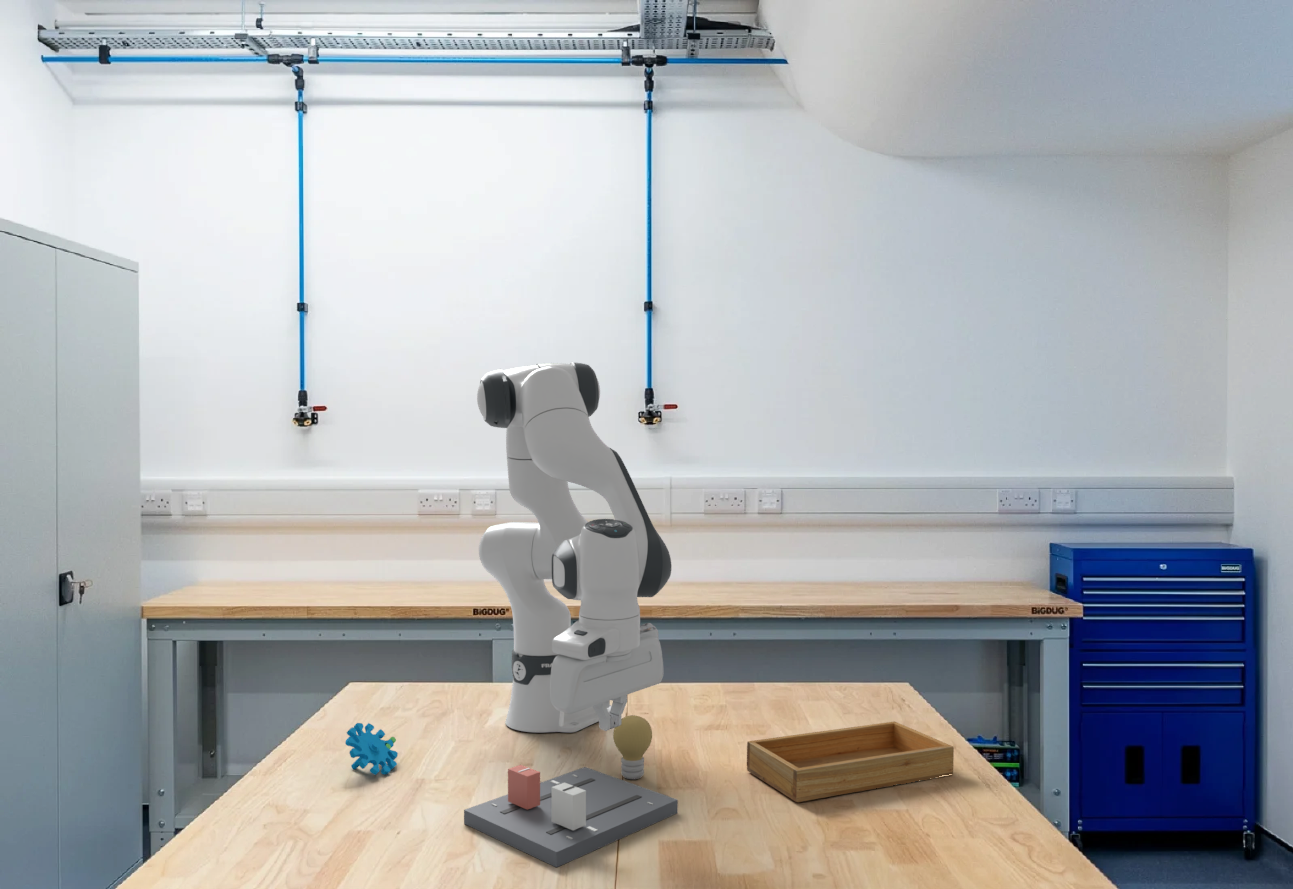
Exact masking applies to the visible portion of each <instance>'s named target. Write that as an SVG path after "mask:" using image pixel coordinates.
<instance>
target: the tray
mask: <svg viewBox="0 0 1293 889" xmlns="http://www.w3.org/2000/svg"><path fill="white" fill-rule="evenodd" d="M954 752H955V751H954V745H953V746H952V745H950V744H949V743H946V742H944V741H941V740H939V739H937V738H934V737H932V736H930V735H928V734H925V733H923V732H921V731H918V730H916V729H913V728H912V727H909V726H906V725H904V724H901V723H899V722H897V721H894V720H893V721H887V722H881V723H873V724H866V725H865V724H864V725H859V726H850V727H844V728H843V727H842V728H836V729H829V730H821V731H814V732H806V733H799V734H792V735H785V736H777V737H770V738H769V737H768V738H763V739H756V740H749V741H747V744H746V771H747V772H749V773H750V774H751V775H753V776H755V777H757V778H758V779H760V780H761V781H763V782H764V783H766V784H767V785H769V786H770V787H772V788H774V789H776V790H777V791H778V792H780V793H782V795H785V796H786V797H788V798H789V799H791V800H792V801H794V802H796V803H801V802H807V801H812V800H817V799H818V800H819V799H824V798H828V797H829V798H830V797H834V796H840V795H846V794H851V793H852V794H853V793H857V792H864V791H870V790H876V788H877V789H882V788H887V787H894V786H893V785H895V786H897V785H896V784H901V785H905V784H906V783H907V784H911V782H913V783H916V782H915V781H918V782H920V781H919V780H925V781H928V780H927V779H930V778H935V777H939V776H942V775H949V774H954V761H955V760H954V759H955V758H954V756H955V755H954Z"/></svg>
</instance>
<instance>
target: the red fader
mask: <svg viewBox="0 0 1293 889" xmlns="http://www.w3.org/2000/svg"><path fill="white" fill-rule="evenodd" d="M540 783H541V772H540V771H538V770H535V769H534V768H533V769H532V768H531V767H529V766H525V765H523V764H519V765H516V766H513V767H510V768H508V769H507V794H508V802H510V803H513V804H515V805H517V806H520V807H522V808H524V809H527V810H528V809H531V808H533V807H536V806H539V805H540Z"/></svg>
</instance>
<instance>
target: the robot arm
mask: <svg viewBox="0 0 1293 889" xmlns="http://www.w3.org/2000/svg"><path fill="white" fill-rule="evenodd" d="M477 389H478V390H477V394H476V396H477V397H476V400H477V406H478V409H479V413H480V414H481V416H482V418H483V420H484V422H486V424H487V425H489V426H490V427H492V428H497V429H498V428H500V429H506V431H505V434H506V435H505V439H506V440H505V442H506V445H505V446H506V450H505V451H506V461H507V462H506V463H507V465H506V466H507V475H508V487H509V488H508V489H509V494H510V496H512V498H513V499H514V501H515V502H516V503H517V504H518V505H520V506H523V507H524V508H525V509H527V510H528V511H530V513H532V514H533V516H534V517H535V518H536V520H537V522H535V521H534V522H533V521H531V522H530V521H529V522H528V521H527V522H525V521H523V522H522V521H510V522H509V521H508V522H504V523H497V524H495V525H490V526H489V527H488V528H487V529H486V530H485V531H484V533H483V534H482V536H481V538H480V540H479V544H478V558H479V560H480V563H481V565H482V566H483V568H484V569H485V571H486V572H487V573H489V574H490V575H491V576H492V577H493V578H494V579H495V580H496V581H497V582H498V583H499V585H500V586H501V588H502V589H503V591H504V592H505V594H506V598H507V599H508V602H509V604H510V609H511V612H512V623H513V649H512V651H511V671H512V683H511V684H512V685H511V686H512V687H511V693H510V699H509V700H510V702H509V706H508V710H507V715H506V718H505V722H504V723H505V726H507V727H509V728H510V729H512V730H516V731H521V732H527V733H576V732H578V731H581V730H583V729H585V728H587V727H589V726H591V725H593V724H595V723H598V727H599V729H600V730H602V731H605V732H607V731H610V730H612V729H614V728H615V727H618V726H620V725H621V719H622V714H623V713H624V711H625V708H626V707H627V706H626V705H627V702H628V695H630V694H633V693H636V692H639V691H641V690H644V689H647V688H651V687H653V686H654V687H655V686H656V685H659V684H661V682H662V679H663V677H664V660H663V651H662V645H661V642H660V640H659V630H658V629H657V627H656V626H655V625H654V624H652V623H651V622H646V623H643V624H641V609H640V605H639V603H638V602H639V601H638V598H653V597H655V596H656V595H657V594H659V592H660V591H661V590H662V589H663V588H664V587H665V586H666V585H667V583H668V581H669V579H670V577H671V574H672V559H671V554H670V552H669V550H668V547H667V546H666V545H667V544H666V543H665V541H664V540H663V539H662V537H661V536H660V534H659V533H658V530H656V527H655V526H654V525H653V522H652V521H651V519H650V516H649V514H648V512H647V509H646V508H645V506H644V504H643V502H642V499H641V497H640V494H639V492H638V489H637V488H636V486H635V483H634V481H633V479H632V477H631V475H630V472H629V471H628V469H627V466H626V465H625V463H624V461H623V459H622V458H621V456H620V454H619V453H618V452H617V451H616V450H614V449H613V448H611V447H609V446H608V445H607V444H606V443H604V441H603V440H602V439H601V438H600V436H599V435H598V434H597V433H596V431H595V430H594V428H593V426H592V424H591V420H590V418H589V417H591V416H592V415H594V414H595V412H596V411H597V410H598V407H599V404H600V403H599V402H600V397H601V388H600V382H599V379H598V378H597V374H596V372H595V370H594V369H593V368H592V367H591V366H590V364H586V363H582V362H573V361H571V362H570V363H558V362H557V363H554V362H553V363H552V362H551V363H545V362H543V363H536V364H534V365H533V364H532V365H524V366H518V367H512V368H508V369H504V370H503V369H502V368H499V369H495V370H491V371H488V372H486V373H485V374H484V375H483V376H482V377H481V379H480V382H479V386H478V388H477ZM569 483H571V484H572V483H573V484H576V485H579V486H582V487H585V488H587V489H589V490H591V491H593V492H595V493H597V494H599V495H600V496H601V497H603V499H605V501H606V502H607V504H608V506H609V508H610V510H611V512H612V515H613V517H614V518H599V519H593V520H590V521H588V520H587V519H586V518H585V517H584V516H583V515H582V514H581V512H580V510H579V509H578V508H577V506H576V504H575V502H574V500H573V498H572V495H571V491H570V488H569ZM544 580H551V583H552V586H553V588H554V589H555V590H556V591H557V592H558V593H559V594H560V595H561V596H563V597H564V598H566V599H567V600H573V601H580V606H579V611H578V620H577V621H575V622H574V623H572V620H571V619H572V615H571V612H570V609H569V607H568V606H567V605H566V603H565V602H563V601H562V600H561V599H559V598H558V597H555V596H554V595H553V594H551V592H550V591H549V590H548V588H547V586H546V583H545V581H544ZM571 623H572V624H571ZM611 701H612V704H611V703H610V702H611Z"/></svg>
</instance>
